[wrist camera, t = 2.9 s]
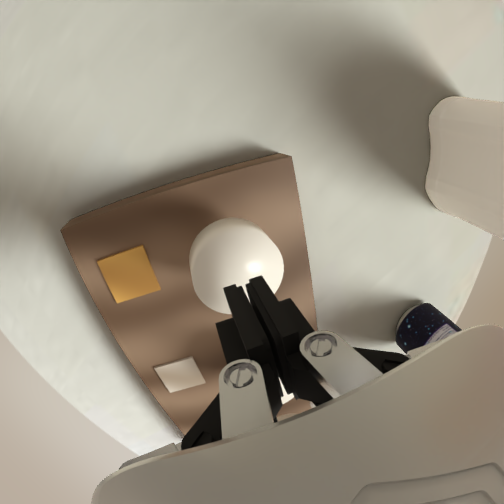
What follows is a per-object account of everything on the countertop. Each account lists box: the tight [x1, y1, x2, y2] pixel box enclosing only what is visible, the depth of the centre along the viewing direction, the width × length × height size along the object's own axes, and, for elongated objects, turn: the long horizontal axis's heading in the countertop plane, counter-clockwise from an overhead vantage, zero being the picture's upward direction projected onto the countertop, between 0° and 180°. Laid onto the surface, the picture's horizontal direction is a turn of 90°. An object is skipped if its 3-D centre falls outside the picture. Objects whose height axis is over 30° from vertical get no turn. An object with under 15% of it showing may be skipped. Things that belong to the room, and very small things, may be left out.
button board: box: [60, 153, 318, 435], centre depth 22 cm, size 26×14×2 cm, turn 13°
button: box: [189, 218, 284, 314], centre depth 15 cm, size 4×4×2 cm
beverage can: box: [396, 303, 462, 354], centre depth 24 cm, size 6×6×12 cm
